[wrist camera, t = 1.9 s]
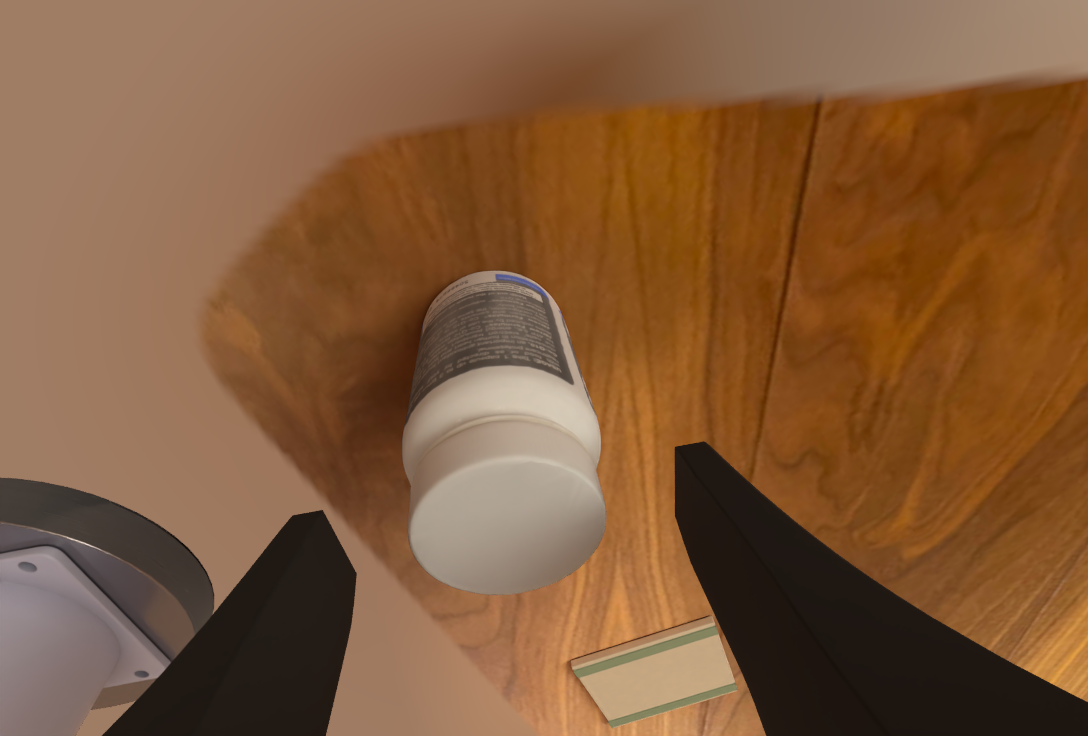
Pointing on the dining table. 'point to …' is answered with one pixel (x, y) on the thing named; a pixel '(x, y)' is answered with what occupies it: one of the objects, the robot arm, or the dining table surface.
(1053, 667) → the dining table surface
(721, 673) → the striped square coaster
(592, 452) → the pill bottle
